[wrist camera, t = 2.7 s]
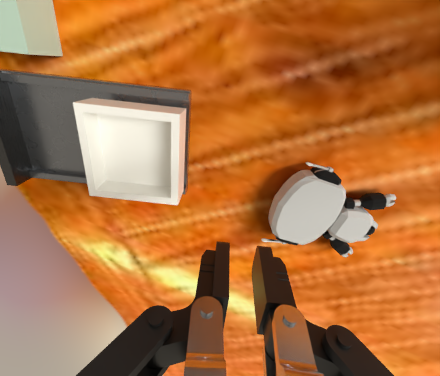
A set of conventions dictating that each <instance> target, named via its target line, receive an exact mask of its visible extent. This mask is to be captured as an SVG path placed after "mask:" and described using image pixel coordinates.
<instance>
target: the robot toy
mask: <svg viewBox="0 0 440 376" xmlns="http://www.w3.org/2000/svg"><path fill="white" fill-rule="evenodd" d="M306 164H307V165H308V166H314V167H313V168H312V169H311V170H300V171H299V172H297V173H295V174H293V175H292V176H291V177H290V178H289V179H288V180H287V181H286V182H285V183H284V184H283V186H282V187H281V188H280V190H279V191H278V192H277V193H276V195H275V196H274V199H273V202H272V205H271V207H270V211H269V217H268V219H269V224H270V227H271V230H272V233H273V234H275V236H276V239H278V240H271V239H265V238H263V239H262V241H263V242H279V243H282V244H286V243H288V244H293V245H298V244H301V245H304V244H307V243H310V242H313V241H314V240H316V239H317V238H319V237H320V236H321V235H323V236H324V237H325V238H326V239H330V243H331V246H332V247H333V248H334V249H335V250H336V251H337V252H338V253H339V254H340V255H342V256H344V257H347V256H348V253H350V255H351V254H352V253H353V250H352V248H351V247H349V245H348V244H347V243H353V242H356V241H365V240H366V239H368V238H370V237H369V236H368V235H371V234H373V233H374V231H375V229H377V226H378V224H377V223H376V222H375V221H374V220H373V217H372V216H371V215H370V214H369V213H368V212H367V211H366V210H365V209H364V208H366V209H369V210H377V209H384V208H385V206H387V207H389V206H392V205H393V204H394V203H395V201H394V200H396V196H395V195H394V194H386V195H383V194H381V193H371V194H365V195H364V196H362V197H361V198H360V199H359V200H353V199H352V198H351V197H348V198H346V190H345V189H344V188H343V186H342V185H341V179H340V178H339V177H338V176H337V175H336V174H335V173H334V172H333V170H334V169H332V168H331V167H323V166H319V165H316V164H312V163H310V162H306ZM317 167H318V168H317ZM363 207H364V208H363Z"/></svg>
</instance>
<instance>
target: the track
mask: <svg viewBox="0 0 440 376" xmlns="http://www.w3.org/2000/svg"><path fill="white" fill-rule="evenodd" d="M89 98H99V99H108V100H116V101H125V102H134V103H143V104H152V105H161V106H170V107H179V108H186V131H185V162H184V191H183V193H182V194H185V193H186V192H187V186H188V162H189V138H190V113H191V90H183V89H174V88H166V87H157V86H148V85H139V84H130V83H121V82H112V81H104V80H95V79H86V78H77V77H68V76H59V75H51V74H42V73H33V72H24V71H15V70H6V69H0V166H1V168H2V171H3V174H4V177H5V180H6V182H7V185H13V186H18V185H20V184H21V183H23V182H25V181H27V180H29V179H30V178H32V177H33V178H42V179H51V180H60V181H69V182H79V183H87V179H86V173H85V168H84V162H83V157H82V151H81V146H80V140H79V134H78V129H77V123H76V118H75V112H74V107H73V102H76V101H81V100H85V99H89Z"/></svg>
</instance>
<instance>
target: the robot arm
mask: <svg viewBox="0 0 440 376" xmlns="http://www.w3.org/2000/svg"><path fill="white" fill-rule="evenodd" d="M229 248H230V243H227V242H217V244H216V251H213V250H206V251H205V253H204V254H203V255H202V258H201V265H200V271H199V277H198V284H197V290H196V296H195V299H194V301H193V302H192V303H191V304H190V305H189V306H188V307H186V308H184V309H181V310H177V311H172V312H171V311H170V310H169V309H168V308H166V307H164V306H153V307H150V308H148V309H147V310H145V311H144V312H143V313H142V314H141V315H140V316H139V317H138V318H137V319H136V320H135V321H134V322H132V323H131V324H130V325H129V326H128V327H127V328H126V329H125V330H124V331H123V332H122V333H121V334H120V335H119V336H118V337H117V338H115V340H113V341H112V342H111V343H110V344H109V345H108V346H107V347H106V348H105V349H104V350H103V351H102V352H101V353H100V354H98V356H96V357H95V358H94V359H93V360H92V361H91V362H90V363H89V364H88V365H87V366H86V367H85V368H84V369H83V370H81V371H80V372H79V373H78V374H77V375H76V376H162V375H163V374H164V373H165V371H166V370H167V369H168V367H169V366H170V365H173V364H176V363H180V362H184V361H185V369H184V376H226V362H225V360H224V346H223V328H224V322H225V317H226V311H227V306H228V300H229ZM252 283H253V293H254V304H255V314H256V325H257V334H263V335H264V346H263V367H264V376H394V375H393V374H392V373H391V372H390V371H389V370H388V369H387V368H386V367H385V366H384V365H383V364H382V363H381V362H380V361H379V360H378V359H377V358H376V357H375V356H374V355H373V354H372V353H371V351H370V350H369V349H368V348H367V347H366V346H365V345H364V344H363V343H362V342H361V341H360V340H359V339H358V338H357V337H356V336H355V335H354V334H353V333H352V332H351V331H349V330H348V329H346V328H344V327H342V326H339V325H332V326H330V327H328V329H327V330H326V329H324V328H322V327H319V326H317V325H314V324H312V323H310V322H309V321H307V320H306V319H305V318H304V316H303V315H302V313H301V312H300V311H299V310H298V309H297V307H296V304H295V300H294V296H293V293H292V289H291V285H290V281H289V278H288V275H287V270H286V266H285V264H284V263H283V262H282V260H281V259H280V258H278V257H273V254H272V250H271V247H263V246H257V248H256V253H255V257H254V261H253V266H252Z"/></svg>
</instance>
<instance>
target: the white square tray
mask: <svg viewBox="0 0 440 376" xmlns="http://www.w3.org/2000/svg"><path fill="white" fill-rule="evenodd" d="M73 107H74V112H75V118H76V123H77V129H78V134H79V140H80V146H81V151H82V157H83V162H84V168H85V173H86V179H87V184H88V190H89V195H90V196H98V197H107V198H116V199H126V200H135V201H144V202H153V203H162V204H171V205H178V204H179V201H180V199H181V196H182V193H183V191H184V162H185V131H186V108H179V107H170V106H161V105H152V104H143V103H134V102H125V101H116V100H108V99H99V98H89V99H85V100H81V101H76V102H73Z"/></svg>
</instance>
